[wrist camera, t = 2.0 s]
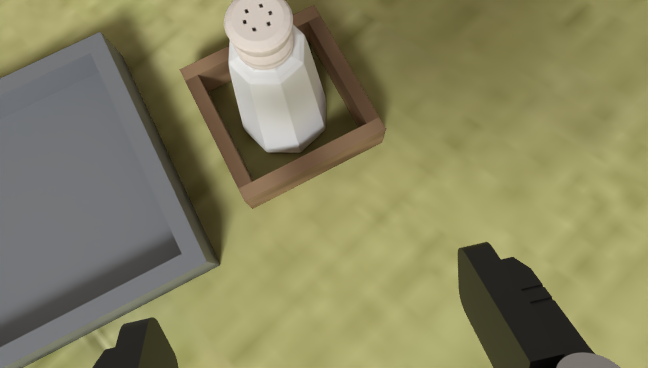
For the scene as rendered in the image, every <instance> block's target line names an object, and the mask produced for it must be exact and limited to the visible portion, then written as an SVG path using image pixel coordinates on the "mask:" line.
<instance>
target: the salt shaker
mask: <svg viewBox="0 0 648 368" xmlns="http://www.w3.org/2000/svg"><path fill="white" fill-rule="evenodd" d="M224 27H225V32H226V34H227V36H228V38H229V39H230V43H229V62H228V63H229V71H230V75H231V79H232V83H233V87H234V91H235V95H236V99H237V103H238V108H239V112H240V116H241V120H242V124H243V128H244V130H245V131H246V132H247V133H248V134H249V135H250V136H251V137H252V138H253V139H254V140H255V141H256V142H257V143H258V144H259V145H260V146H261V147H262V148H263V149H264V150H265V151H266V152H282V153H301V152H302V151H303V150H304V149H305V148H306V147H307V146H308V145H310V144H311V143H312V142H313V141H314V140H315V139H316V138H317V137H318V136H319V135H320V134H321V133H322V132H323V131H324V130H325V121H326V97H325V94H324V91H323V88H322V85H321V82H320V79H319V75H318V72H317V69H316V66H315V63H314V60H313V57H312V54H311V51H310V48H309V45H308V42H307V40H306V38H305V35H304V34H303V33H302V32H301V31H300V30H299V29H298V28H296V27H295V26H294V25H293V15H292V11H291V8H290V7H289V5H288V3H287V2H286V1H285V0H234V1H233V2H232V3H231V4H230V6H229V7H228V9H227V11H226V14H225V17H224Z"/></svg>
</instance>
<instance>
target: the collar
mask: <svg viewBox="0 0 648 368" xmlns="http://www.w3.org/2000/svg"><path fill="white" fill-rule="evenodd" d="M293 25H294V26H295V27H296V28H298V29H299V30H300V31H301V32H302V33H303V34H304V35H305V38H306V40H307V42H308V43H311V45H312V46H313V48H314V50H315V52H316V53H317V55H318V57H319V59H320V60H321V62H322V64H323V66H324V67H325V69H326V71H327V73H328V74H329V76H330V78H331V80H332V82H333V83H334V85H335V87H336V89H337V90H338V92H339V94H340V96H341V97H342V99H343V101H344V103H345V104H346V106H347V108H348V110H349V111H350V113H351V115H352V117H353V119H354V120H355V122H356V124H357V126H358V127H359V128H357V129H355V130H353V131H351V132H349V133H347V134H345V135H343V136H341V137H339V138H337V139H335V140H333V141H331V142H329V143H327V144H325V145H323V146H321V147H319V148H317V149H316V150H314V151H312V152H310V153H308V154H306V155H304V156H302V157H300V158H298V159H296V160H294V161H292V162H290V163H288V164H286V165H284V166H282V167H280V168H278V169H276V170H274V171H272V172H270V173H268V174H266V175H264V176H262V177H260V178H258V179H257V180H255V181H253V179H252V177H251V175H250V173H249V171H248V169H247V167H246V165H245V163H244V161H243V159H242V157H241V155H240V153H239V151H238V149H237V147H236V145H235V143H234V141H233V139H232V137H231V135H230V133H229V131H228V129H227V127H226V125H225V123H224V121H223V119H222V117H221V115H220V113H219V111H218V109H217V107H216V105H215V103H214V102H213V100H212V98H211V96H210V94H209V92H210V91H212V90H214V89H216V88H218V87H220V86H222V85H224V84H226V83H228V82H230V81H232V79H231V75H230V71H229V63H228V62H229V46H227V47H225V48H223V49H221V50H219V51H217V52H215V53H213V54H211V55H209V56H207V57H205V58H203V59H201V60H198V61H196V62H194V63H192V64H190V65H188V66H186V67H184V68H182V69H180V71H181V73H182V75H183V77H184V80H185V82H186V84H187V86H188V88H189V90H190V92H191V94H192V96H193V98H194V100H195V102H196V104H197V106H198V108H199V110H200V112H201V114H202V116H203V118H204V120H205V122H206V124H207V126H208V128H209V130H210V132H211V134H212V136H213V138H214V140H215V142H216V144H217V146H218V148H219V150H220V152H221V154H222V156H223V158H224V160H225V162H226V164H227V166H228V169H229V171H230V173H231V175H232V177H233V179H234V181H235V183H236V185H237V187H238V189H239V191H240V193H241V195H242V197H243V199H244V201H245V202H246V203H247V204H248V205H249V206H250V207H251V208H252V209H253V208H255V207H257V206H259V205H261V204H263V203H265V202H267V201H269V200H271V199H273V198H275V197H276V196H278V195H280V194H282V193H284V192H286V191H288V190H290V189H292V188H294V187H296V186H298V185H300V184H302V183H304V182H306V181H308V180H310V179H312V178H313V177H315V176H317V175H319V174H321V173H323V172H325V171H327V170H329V169H331V168H333V167H335V166H337V165H339V164H341V163H343V162H345V161H347V160H349V159H350V158H352V157H354V156H356V155H358V154H360V153H362V152H364V151H366V150H368V149H370V148H372V147H374V146H376V145H378V144H380V143H382V141H383V137H384V134H385V131H386V128H385V126H384V125H383V123H382V121H381V119H380V118H379V116H378V114H377V113H376V111H375V109H374V107H373V106H372V104H371V102H370V101H369V99H368V97H367V95H366V94H365V92H364V90H363V88H362V87H361V85H360V83H359V82H358V80H357V78H356V76H355V75H354V73H353V71H352V70H351V68H350V66H349V64H348V63H347V61H346V59H345V57H344V56H343V54H342V52H341V51H340V49H339V47H338V45H337V44H336V42H335V40H334V39H333V37H332V35H331V33H330V32H329V30H328V28H327V26H326V25H325V23H324V21H323V20H322V18H321V16H320V14H319V13H318V11H317V9H316V8H315V6H314V5H313V6H311V7H308V8H306V9H304V10H302V11H300V12H298V13H296V14H294V15H293Z"/></svg>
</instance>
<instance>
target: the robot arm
mask: <svg viewBox="0 0 648 368" xmlns="http://www.w3.org/2000/svg"><path fill="white" fill-rule="evenodd" d="M458 280H459V294H460V299H461V303H462V306H463V308H464V311H465V313H466V315H467V317H468V319H469V321H470V323H471V325H472V327H473V329H474V331H475V333H476V334H477V336H478V338H479V340H480V342H481V344H482V346H483V348H484V350H485V352H486V354H487V356H488V358H489V360H490V362H491V364H492V366H493V368H620V367H619V366H618V365H616V364H615V363H614V362H612V361H611V360H609V359H607V358H605V357H602V356H600V355H597V354H595V353H594V352H593V351H592V350H591V349H590V348H589V346H588V345H587V344H586V342H585V341H584V340H583V338H582V337H581V336H580V334H579V333H578V331H577V330H576V329H575V327H574V326H573V325H572V323H571V322H570V321H569V319H568V318H567V317H566V315H565V314H564V313H563V311H562V310H561V309H560V307H559V306H558V305H557V303H556V302H555V301H554V300H552V296H551V295H550V294H549V292H548V291H547V290H546V288H545V287H543V285H542V283H541V282H540V280H539V279H538V278H537V276H536V275H535V274H534V272H533V271H532V270H531V268H529V267H528V266H526V265H525V264H523V263H521V262H520V261H518V260H517V259H515V258H514V257H510V258H506V259H502V260H501V259H500V258H499V256H498V255H497V253H496V252H495V250H494V249H493V247H492V246H491V245H490V244H489V243H488V242H484V243H480V244H476V245H471V246H467V247H463V248H459V249H458ZM93 368H178V363H177V359H176V356H175V353H174V351H173V349H172V348H171V346H170V344H169V342H168V340H167V338H166V336H165V334H164V332H163V331H162V329H161V327H160V325H159V323H158V321H157V320H156V319H155V318H148V319H144V320H139V321H135V322H130V323H126V324H123V325H122V327H121V329H120V332H119V336H118V339H117V343H116V347H114V348H110V349H106V350H105V351H104V352H103V353H102V355H101V356H100V358H99V359H98V360H97V362H96V363H95V365H94V366H93Z"/></svg>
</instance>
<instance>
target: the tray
mask: <svg viewBox="0 0 648 368" xmlns="http://www.w3.org/2000/svg"><path fill="white" fill-rule="evenodd" d="M219 265H220V263H219V261H218V259H217V257H216V255H215V253H214V251H213V248H212V246H211V244H210V242H209V240H208V238H207V236H206V234H205V231H204V229H203V227H202V225H201V223H200V221H199V219H198V216H197V214H196V212H195V210H194V208H193V206H192V204H191V202H190V199H189V197H188V195H187V193H186V191H185V189H184V187H183V184H182V182H181V180H180V178H179V176H178V174H177V172H176V170H175V167H174V165H173V163H172V161H171V159H170V157H169V155H168V152H167V150H166V148H165V146H164V144H163V142H162V140H161V138H160V135H159V133H158V131H157V129H156V127H155V125H154V123H153V120H152V118H151V116H150V114H149V112H148V110H147V108H146V106H145V103H144V101H143V99H142V97H141V95H140V93H139V91H138V88H137V86H136V84H135V82H134V80H133V78H132V76H131V74H130V71H129V69H128V67H127V65H126V63H125V61H124V59H123V56H122V55H121V54H120V53H119V52H118V51H117V50H116V48H115V47H114V46H113V45H112V44H111V43H110V42H109V41H108V40H107V39H106V38H105V36H104V35H103V34H102V33H101V32H98V33H96V34H94V35H92V36H90V37H88V38H86V39H83V40H81V41H79V42H77V43H75V44H73V45H71V46H69V47H66V48H64V49H62V50H60V51H58V52H56V53H54V54H51V55H49V56H47V57H45V58H43V59H41V60H39V61H36V62H34V63H32V64H30V65H28V66H26V67H24V68H22V69H19V70H17V71H15V72H13V73H11V74H9V75H7V76H4V77H2V78H0V368H23V367H25V366H27V365H29V364H31V363H33V362H35V361H37V360H39V359H40V358H42V357H44V356H46V355H48V354H50V353H52V352H54V351H56V350H58V349H60V348H62V347H63V346H65V345H67V344H69V343H71V342H73V341H75V340H77V339H79V338H81V337H83V336H85V335H87V334H88V333H90V332H92V331H94V330H96V329H98V328H100V327H102V326H104V325H106V324H108V323H110V322H112V321H113V320H115V319H117V318H119V317H121V316H123V315H125V314H127V313H129V312H131V311H133V310H135V309H137V308H138V307H140V306H142V305H144V304H146V303H148V302H150V301H152V300H154V299H156V298H158V297H160V296H161V295H163V294H165V293H167V292H169V291H171V290H173V289H175V288H177V287H179V286H181V285H183V284H185V283H186V282H188V281H190V280H192V279H194V278H196V277H198V276H200V275H202V274H204V273H206V272H208V271H210V270H211V269H213V268H215V267H217V266H219Z"/></svg>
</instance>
